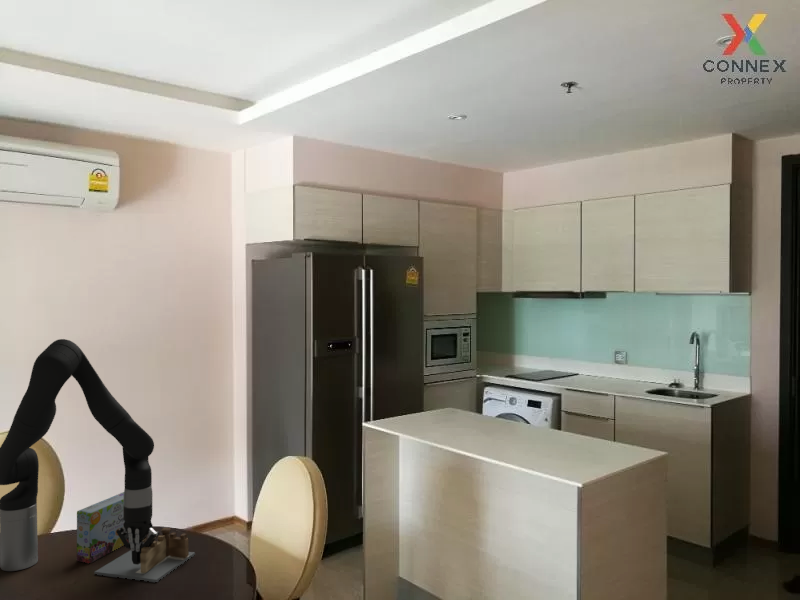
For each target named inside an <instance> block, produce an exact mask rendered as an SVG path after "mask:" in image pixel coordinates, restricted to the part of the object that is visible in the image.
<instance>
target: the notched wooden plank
mask: <svg viewBox="0 0 800 600" xmlns="http://www.w3.org/2000/svg"><path fill="white" fill-rule="evenodd" d="M160 530H161V531H160V532H161V533H162V534H161V535H165V539H166V557H167V556H175V557H183V558H186V557H188V556H189V552H190V551H189V537H188V534H187V533H185V532H183V533H182V534H180V536H177V532H175V531H174V532H171V531H172V529H171V528H170V527H163V528H161V529H160ZM170 532H171V533H170Z"/></svg>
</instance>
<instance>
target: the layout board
mask: <svg viewBox="0 0 800 600" xmlns="http://www.w3.org/2000/svg"><path fill="white" fill-rule="evenodd" d="M194 555H195V556H196V552H195V551H189V556H188V557H186V558H183V557H175V556H167V557H165V558H164V559H162V560H161V561H160V562H159V563H157V564H156V565H155V566H154V567H152V568H151V569H150V570H149V571H147V572H146V573H142V572H141V563H140V564H138V565H137V564H133V562H132V551H131V549H130V550H128V551H126V552H125V553H123V554H122V555H119V557H117V558H115V559H113V560H112V561H110V562H108V563H107V564H104V565H103V566H102V567H100V568H99V569H96V570H94V575H95V574H97V575H96V576H102V575H103V576H105V577H110V578H117V577H119V578H120V579H125V578H127V580H132V579H135V580H134V581H140V580H144V581H143V582H147V581H149V582H148V583H155V582H157V583H159V582H160V581H161V580H163V579H164V578H166V577H167V576H168V575H169V574H171V573H172V572H174V571H175V570H176V569H177V567H178V566H179V567H181V566H182V565H184V564H185V563H186V562H188V561H189V560H190V559H192V558H193V557H195V556H194ZM191 557H192V558H191ZM188 559H189V560H188ZM187 560H188V561H187ZM185 561H186V562H185ZM184 562H185V563H184ZM181 564H182V565H181ZM180 565H181V566H180ZM179 567H178V568H179ZM174 569H175V570H174ZM173 570H174V571H173ZM171 571H172V572H171ZM170 572H171V573H170ZM167 574H168V575H167ZM166 575H167V576H166ZM163 577H164V578H163ZM160 579H161V580H160ZM159 580H160V581H159Z"/></svg>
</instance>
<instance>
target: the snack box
mask: <svg viewBox="0 0 800 600" xmlns="http://www.w3.org/2000/svg"><path fill="white" fill-rule="evenodd" d="M123 511H124V491H123V492H120V493H118V494H116V495H114V496H110V497H109V498H106V499H103V500H101V501H98V502H96V503H94V504H91V505H89V506H86V507H84V508H81V509H78V510H77V511H76V561H77V562H82V563H84V562H85V563H86V564H89V563H90V564H92V563H93V562H95V561H97V560H99V559H100V558H103V557H105V556H107V555H108V553H109V554H110V552H111V553H112V551H113V552H115V551H117V550H119V549H120V547H121V546H123V545H124V544H123V542H122V541H121V539H120V537H119V536H118V534H117V532H116V531H117V530H118V529H120V528H121V527H123V524H124V522H125V521H124V519H123ZM127 541H128V540H127ZM128 543H129V542H128ZM123 547H124V546H123ZM118 548H119V549H118ZM121 548H122V547H121ZM116 549H117V550H116ZM114 550H115V551H114ZM106 554H107V555H106Z"/></svg>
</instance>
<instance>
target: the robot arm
mask: <svg viewBox="0 0 800 600" xmlns="http://www.w3.org/2000/svg"><path fill="white" fill-rule="evenodd" d="M71 377H73V378H74V379H75V380H76V382H77V384H78V385H79V386H80V388H81V391H82V392H83V395H84V398H85V401H86V403H87V407H88V409H89V411H90V413H91V415H92V416H93V418H94V419H95V420H96V422H97V423H98V424H100V426H101V428H103V429H104V430H105V431H106V433H108V434H109V435H111V436H112V437H113V438H115V440H117V442H118V443H119V445H120V446H121V447H122V454H123V455H122V457H123V458H122V459H123V465H124V490H123V492H124V511H123V519H124V521H125V522H124V524H123V527H121V528H120V529H118V530H117V531H116V532H117V534H118V536H119V537H120V539H121V541H122V542H123V544H124V545H125V546H124V547H125V548H126V549H130V550H131V551H132V562H133V564H137V565H138V564H140V563H141V559H140V554H141V549H142V548H143V547H150V546H151V545H152V543H153V542H154V541H156V540H157V539H158V536H160V535H161V534H160V531H158V530H155V529H154V527H153V523H152V518H153V487H152V482H153V481H152V478H153V477H152V475H153V474H152V467H151V465H150V462H149V457H150V456H151V455H152V453H153V452H154V450H155V442H154V439H153V438H152V436H150V435H149V433H148V432H146V431H145V430H144V429H143V428H142V427H141V426H140V425H139V424H138V423H137V422H136V421H135V420H134V419H133V417H132V416H131V415H130V414H129V412H128V411H127V410H126V409H125V408H124V407H123V406H122V404H120V403H119V402H118V400H117V399H116V398H115V397H114V396H113V395H112V393H111V392H110V391H109V389H108V388H107V387H106V384H105V383H104V382H103V380H102V379H101V378H100V376H99V374H98V373H97V371H96V370H95V367H93V365H92V363H91V362H90V361H89V358H87V356H86V354H85V353H84V351H83V350H82V349H81V348H80V346H78V345H77V344H76V343H75V342H74V341H71V340H69V339H64V338H63V339H62V338H61V339H60V338H59V339H56V340H54V341H53V342H52V343H50V344H49V345H48V346H47V347H46V348H45V349H44V350H43V351H42V352H41V353H39V355H37V357H36V359H35V361H34V363H33V366H32V369H31V374H30V378H29V383H28V387H27V390H26V391H25V393H24V395H23V396H22V399H21V401H20V403H19V405H18V407H17V410H16V412H15V414H14V416H13V418H12V419H13V420H12V421H11V422H12V423H11V425H10V427H9V430H8V433H7V434H6V436H5V439H4V441H3V442H2V444H1V445H0V486H8V485H9V486H10V485H13V484H17V485H16V486H15V487H14V488H13V489H12V490H11V491H8V492H7V493H6V494H4V495H2V496H1V497H0V570H2V571H5V572H15V571H21V570H24V569H28V568H31V567H32V566H34V565H36V564H37V563H38V561H39V554H38V551H39V550H38V548H39V545H38V541H39V540H38V504H37V503H38V502H37V501H38V499H37V498H38V492H39V470H40V469H39V467H40V466H39V464H40V463H39V457H38V453H37V452H36V450H35V449H34V448H32V446H34V445H35V444H37V442H39V440H41V439H42V438H43V437H45V435H46V434H47V433H48V431H49V430H50V428H51V426H52V423H53V421H54V419H55V416H56V414H57V405H56V399H57V397H58V395H59V393H60V391H61V390H62V388H63V386H64V385H65V384H66V382H67V381H68V380H69V379H70V378H71ZM127 540H128V541H127ZM128 542H129V543H128Z"/></svg>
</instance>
